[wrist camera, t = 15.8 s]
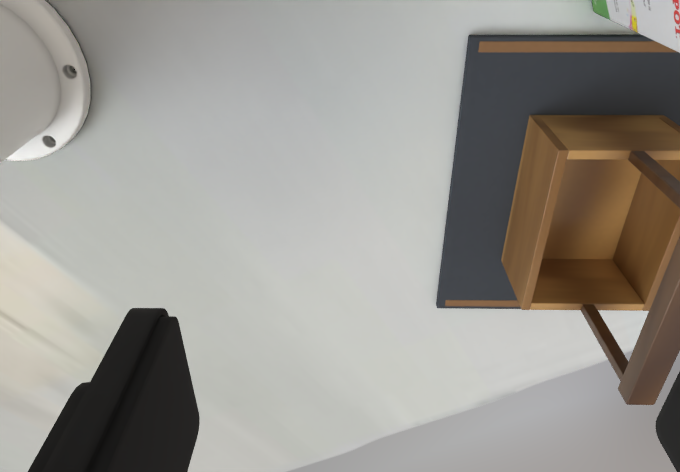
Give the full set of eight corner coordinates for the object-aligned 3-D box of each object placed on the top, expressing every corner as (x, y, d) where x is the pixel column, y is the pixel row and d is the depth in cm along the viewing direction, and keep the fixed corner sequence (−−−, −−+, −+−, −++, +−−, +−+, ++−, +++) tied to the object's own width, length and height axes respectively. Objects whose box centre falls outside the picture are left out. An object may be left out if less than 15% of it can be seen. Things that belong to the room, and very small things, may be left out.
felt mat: (436, 303, 45) (437, 308, 45) (468, 34, 34) (470, 36, 33) (648, 305, 45) (651, 310, 45) (756, 34, 33) (762, 36, 33)
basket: (500, 260, 42) (560, 404, 30) (529, 114, 36) (619, 223, 24) (614, 261, 42) (720, 406, 30) (664, 114, 35) (824, 224, 24)
